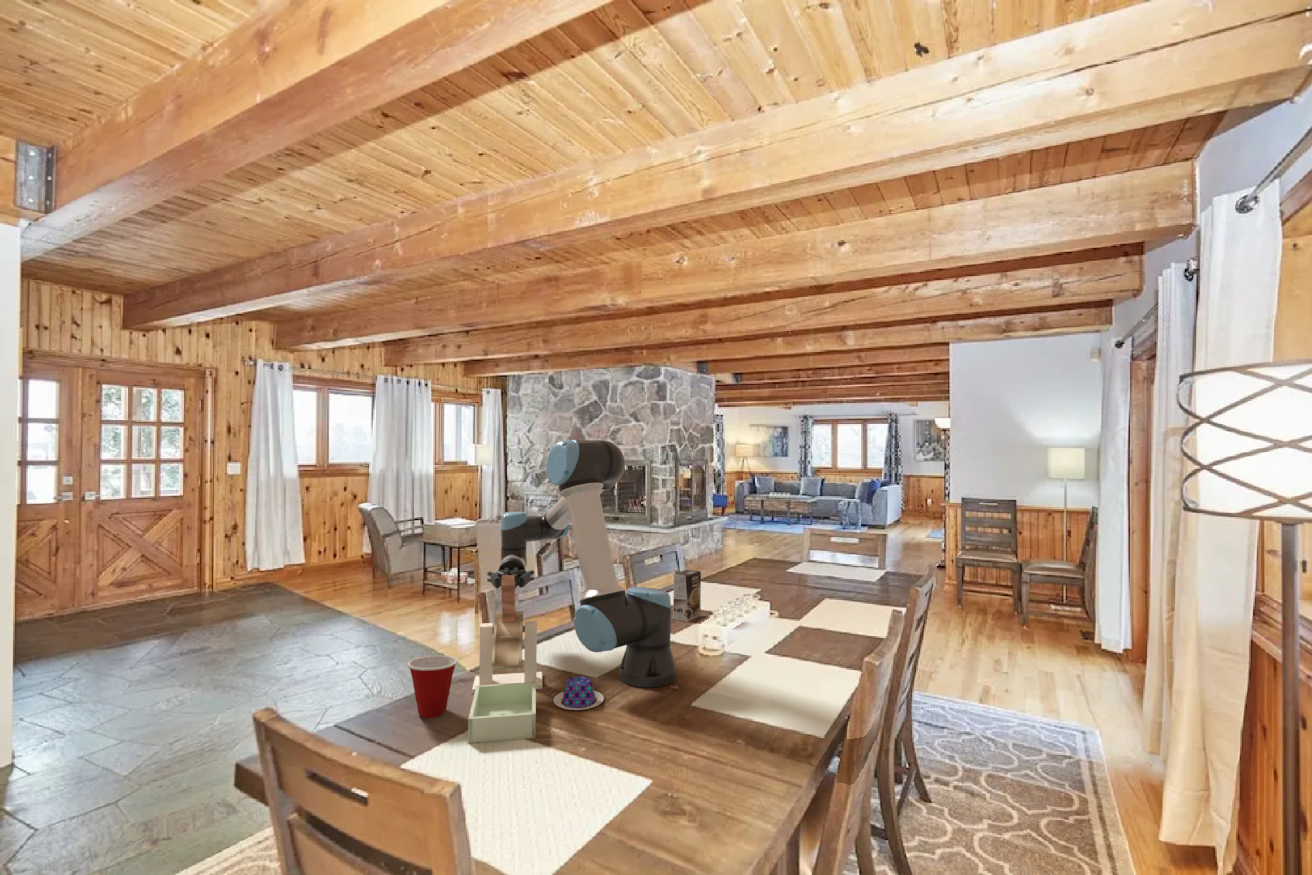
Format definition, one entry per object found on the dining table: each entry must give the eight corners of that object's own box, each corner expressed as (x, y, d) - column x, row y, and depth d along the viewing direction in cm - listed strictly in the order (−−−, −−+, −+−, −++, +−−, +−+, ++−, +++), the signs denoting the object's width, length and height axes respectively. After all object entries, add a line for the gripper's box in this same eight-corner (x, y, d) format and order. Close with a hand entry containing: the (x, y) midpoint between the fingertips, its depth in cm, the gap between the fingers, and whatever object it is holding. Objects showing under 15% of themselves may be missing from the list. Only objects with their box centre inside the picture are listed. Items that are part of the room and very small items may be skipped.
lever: (495, 614, 160) (493, 574, 151) (523, 613, 161) (522, 573, 153) (491, 669, 147) (489, 628, 139) (521, 667, 149) (521, 626, 140)
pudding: (584, 717, 141) (584, 694, 141) (542, 705, 147) (543, 683, 147) (613, 698, 151) (613, 676, 151) (573, 688, 157) (573, 667, 157)
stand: (475, 679, 161) (476, 619, 161) (542, 675, 165) (542, 616, 165) (472, 693, 153) (472, 630, 153) (542, 688, 156) (542, 626, 156)
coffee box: (688, 622, 214) (688, 575, 214) (672, 619, 217) (672, 573, 217) (701, 616, 221) (701, 570, 221) (685, 613, 225) (686, 568, 225)
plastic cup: (465, 703, 147) (465, 652, 147) (445, 724, 136) (445, 669, 136) (421, 701, 148) (421, 650, 148) (397, 721, 137) (398, 667, 137)
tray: (476, 707, 145) (476, 685, 145) (535, 702, 147) (535, 681, 147) (468, 743, 128) (468, 718, 128) (535, 737, 130) (535, 713, 130)
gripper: (535, 582, 180) (534, 603, 157) (488, 584, 178) (480, 605, 155) (535, 556, 180) (534, 573, 157) (488, 558, 178) (481, 575, 155)
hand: (507, 589), depth 156 cm, fingers closed
